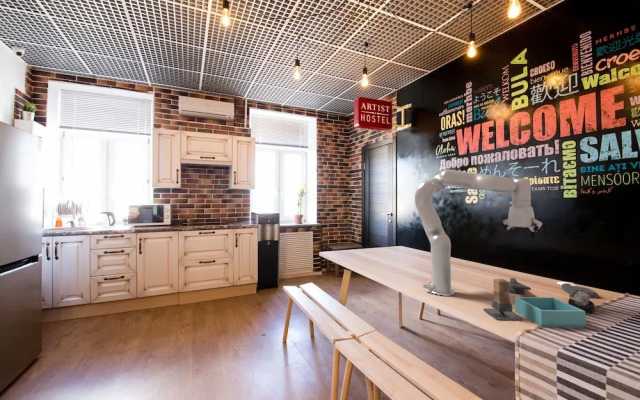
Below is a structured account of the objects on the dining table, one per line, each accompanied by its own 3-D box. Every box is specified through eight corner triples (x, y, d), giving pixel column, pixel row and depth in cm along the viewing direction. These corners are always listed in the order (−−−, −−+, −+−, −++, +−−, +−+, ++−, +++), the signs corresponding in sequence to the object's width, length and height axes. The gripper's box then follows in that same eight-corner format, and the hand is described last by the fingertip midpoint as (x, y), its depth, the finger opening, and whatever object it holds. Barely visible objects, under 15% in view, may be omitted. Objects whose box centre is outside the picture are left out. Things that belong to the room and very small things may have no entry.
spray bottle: (573, 297, 136) (551, 284, 159) (602, 299, 132) (575, 286, 155) (573, 291, 136) (551, 279, 159) (601, 293, 133) (575, 281, 156)
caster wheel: (583, 320, 115) (560, 307, 125) (607, 313, 116) (582, 301, 126) (582, 305, 114) (558, 294, 124) (606, 298, 115) (581, 288, 125)
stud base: (496, 320, 111) (496, 306, 111) (483, 310, 120) (483, 297, 121) (522, 320, 110) (522, 306, 110) (507, 310, 120) (507, 298, 120)
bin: (541, 326, 104) (541, 310, 104) (515, 311, 119) (515, 297, 119) (585, 327, 103) (585, 311, 103) (553, 311, 118) (553, 297, 118)
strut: (499, 311, 113) (498, 282, 113) (492, 306, 118) (491, 278, 118) (512, 311, 112) (511, 282, 113) (504, 307, 118) (503, 278, 118)
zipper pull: (510, 286, 134) (502, 274, 156) (510, 299, 134) (502, 285, 156) (533, 288, 130) (521, 275, 152) (533, 302, 130) (522, 287, 152)
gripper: (498, 204, 142) (499, 237, 142) (536, 203, 126) (537, 241, 126) (507, 204, 145) (508, 236, 145) (545, 203, 129) (546, 240, 129)
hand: (521, 238), depth 135 cm, fingers open, 9 cm apart
